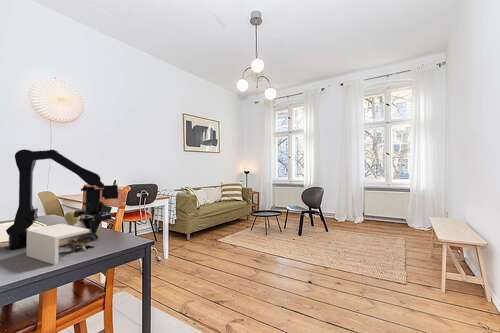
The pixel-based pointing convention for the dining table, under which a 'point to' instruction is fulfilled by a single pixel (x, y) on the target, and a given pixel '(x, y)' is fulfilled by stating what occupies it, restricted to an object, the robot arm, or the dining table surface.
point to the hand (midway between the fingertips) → (92, 233)
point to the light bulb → (71, 218)
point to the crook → (74, 238)
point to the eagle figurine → (83, 241)
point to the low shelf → (49, 241)
